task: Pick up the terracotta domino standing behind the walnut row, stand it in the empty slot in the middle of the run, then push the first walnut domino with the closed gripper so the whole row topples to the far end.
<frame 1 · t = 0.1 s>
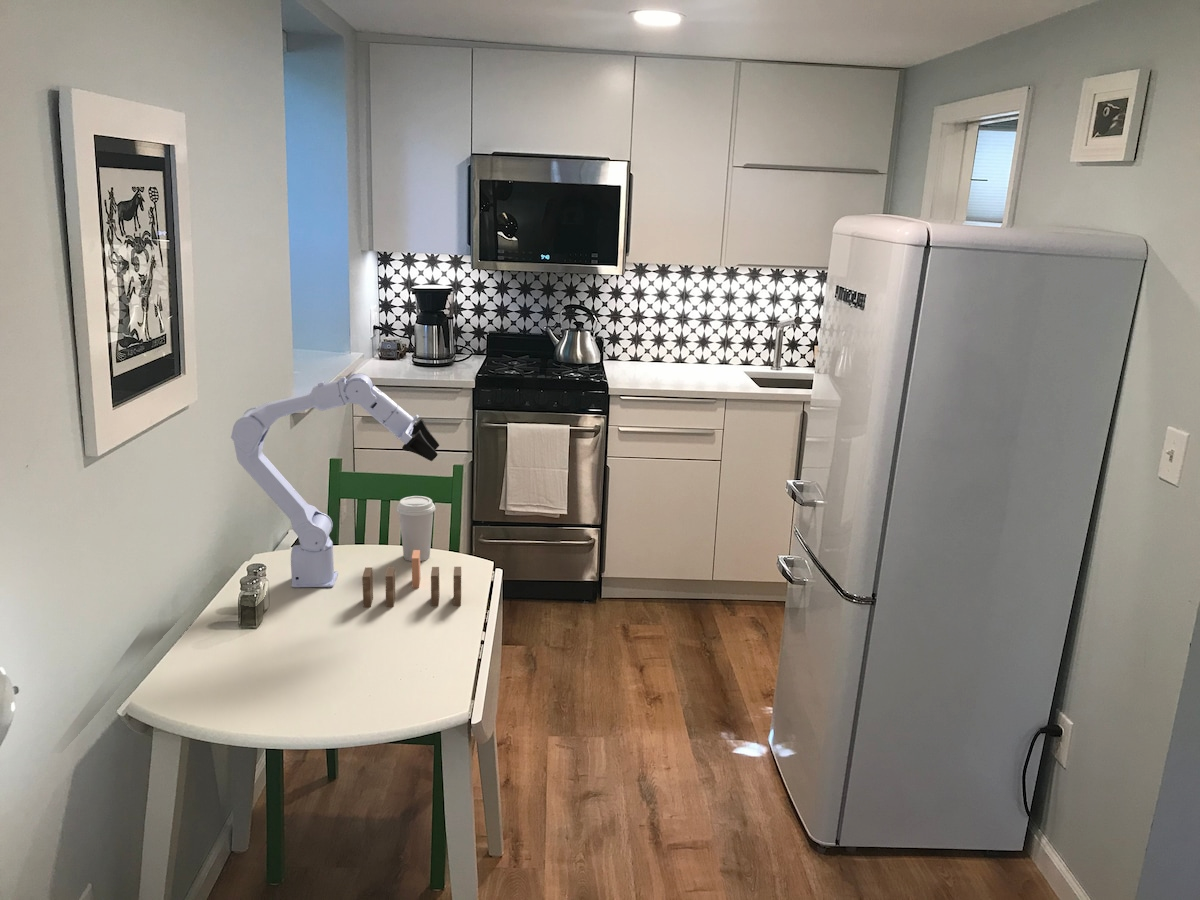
hand: (435, 453, 216), 32 cm above the table, tool tilted 50°, fingers open, 7 cm apart
domino 2: (390, 602, 213), on the table
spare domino: (416, 583, 223), on the table
domino 1: (368, 602, 212), on the table
domino 4: (435, 601, 214), on the table
domino 5: (457, 601, 215), on the table
coffee cup: (416, 557, 238), on the table
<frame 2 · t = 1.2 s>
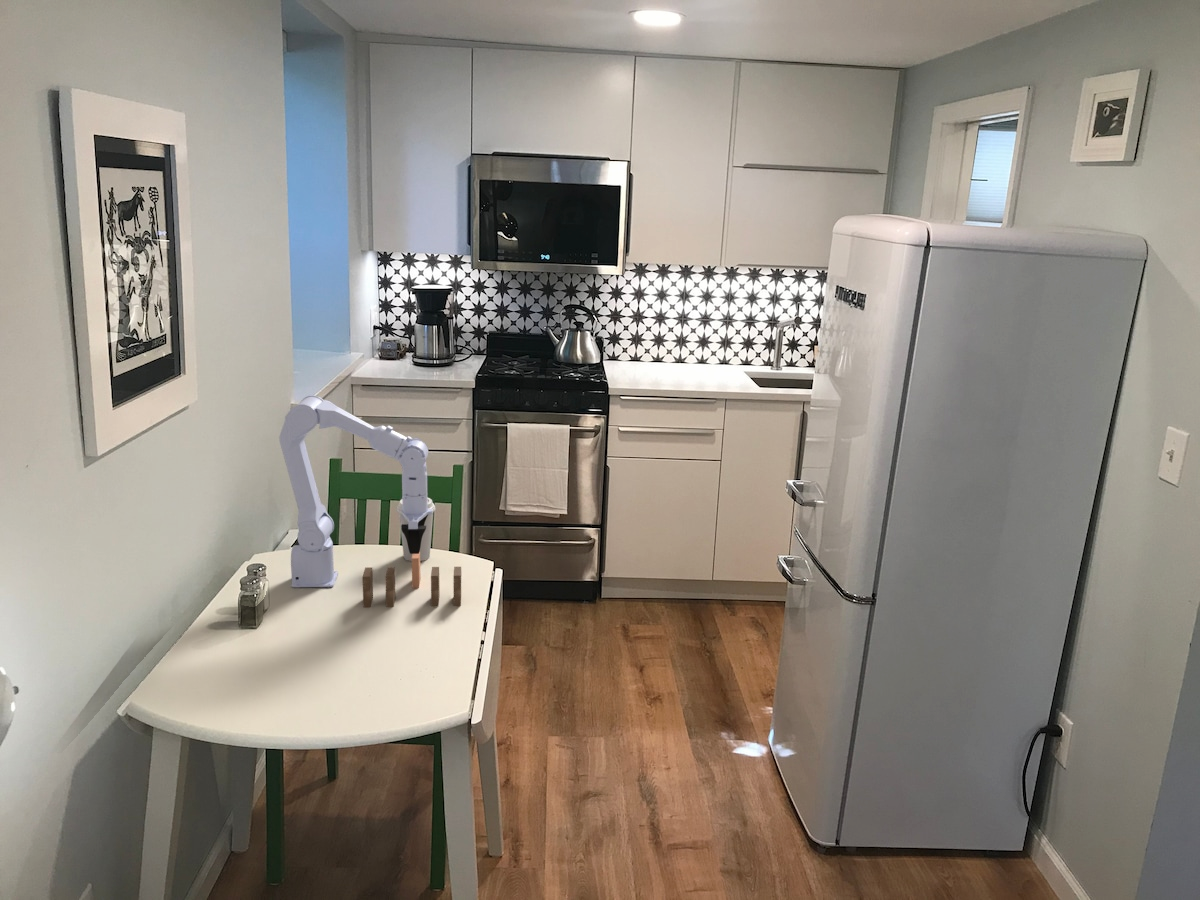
hand: (415, 546, 220), 9 cm above the table, tool pointing down, fingers open, 7 cm apart
nothing on the table moved.
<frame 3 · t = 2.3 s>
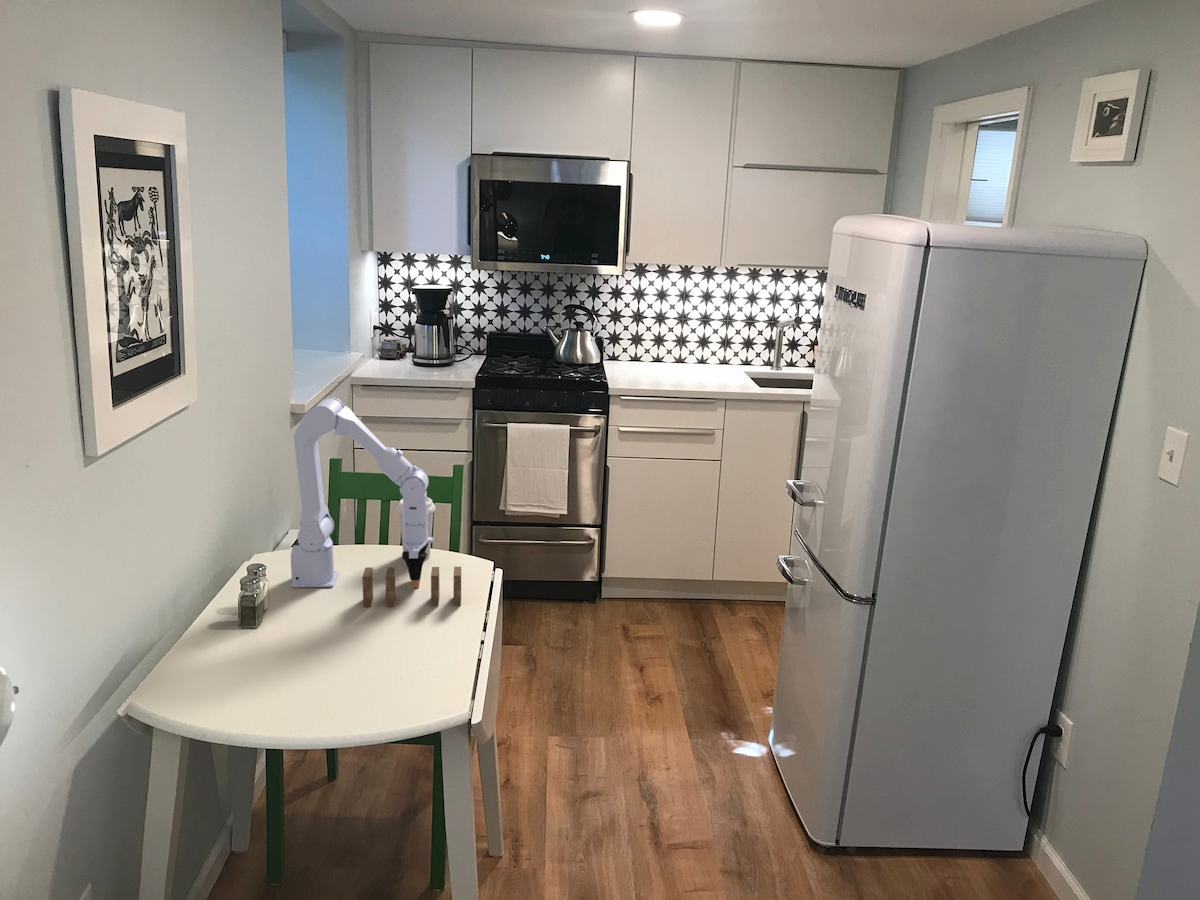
hand: (416, 574, 222), 2 cm above the table, tool pointing down, fingers closed on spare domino, 5 cm apart
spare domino: (416, 583, 223), on the table, touching gripper
everything else where it was.
when the fingers open (3 cm above the table, at t = 6.7 s): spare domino moves 4 cm and tips over, resting on domino 2, domino 4.
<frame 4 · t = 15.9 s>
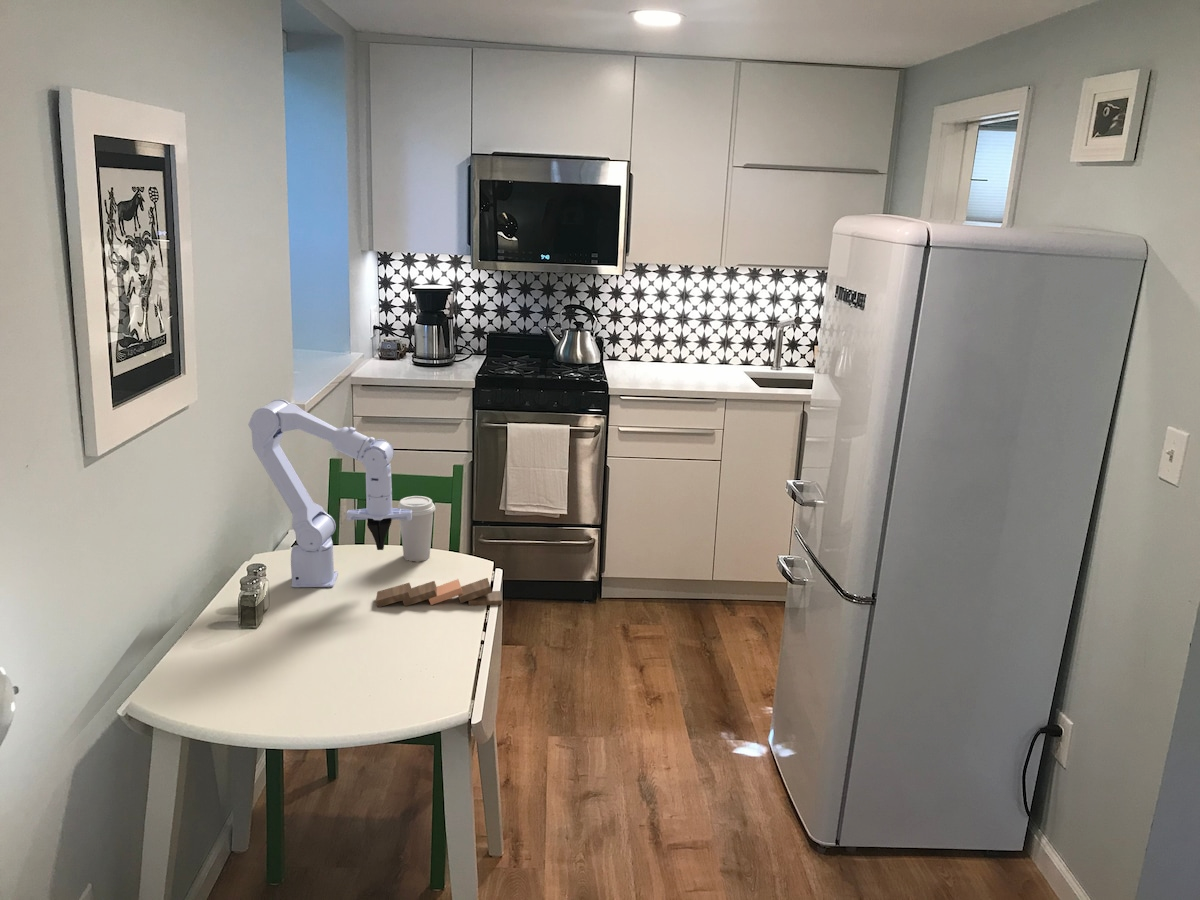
hand: (380, 548, 218), 9 cm above the table, tool pointing down, fingers closed
domino 2: (403, 598, 213), point 1 cm above the table, tilted 73°, touching domino 1, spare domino
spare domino: (429, 597, 214), point 1 cm above the table, tilted 73°, touching domino 2, domino 4
domino 1: (377, 599, 212), point 1 cm above the table, tilted 74°, touching domino 2
domino 4: (458, 595, 215), point 1 cm above the table, tilted 73°, touching domino 5, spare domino
domino 5: (468, 599, 215), on the table, tilted 90°, touching domino 4
everything else where it was.
at the end: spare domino inside the target area (1.6 cm from its centre), point 0.8 cm above the table; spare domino tilted 72°; domino 5 tilted 90° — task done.
